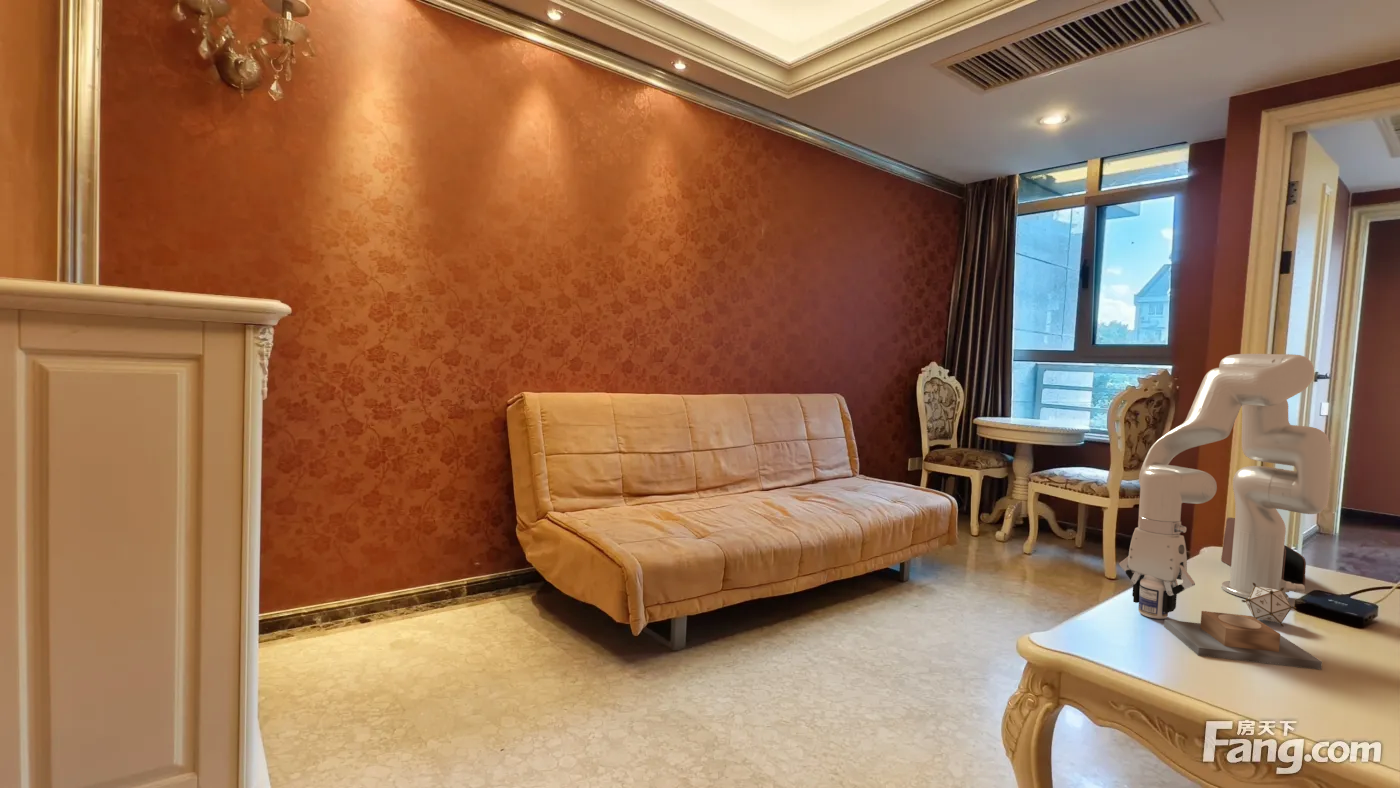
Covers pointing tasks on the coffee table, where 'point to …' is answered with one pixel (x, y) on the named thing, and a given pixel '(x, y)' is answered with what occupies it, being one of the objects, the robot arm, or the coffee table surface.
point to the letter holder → (1291, 559)
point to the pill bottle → (1152, 597)
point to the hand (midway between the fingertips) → (1153, 605)
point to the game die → (1268, 604)
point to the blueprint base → (1240, 653)
